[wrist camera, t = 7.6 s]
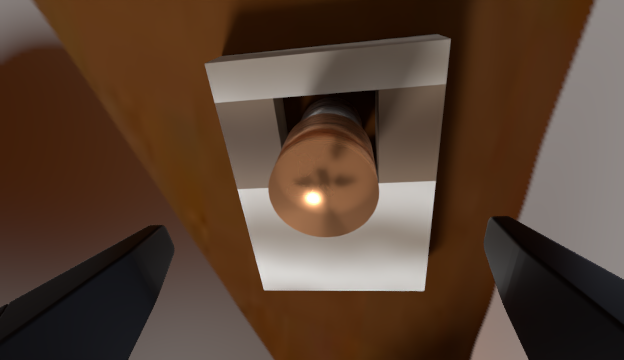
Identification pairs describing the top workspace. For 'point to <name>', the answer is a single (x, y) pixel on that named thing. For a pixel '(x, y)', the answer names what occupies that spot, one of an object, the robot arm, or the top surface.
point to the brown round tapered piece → (325, 172)
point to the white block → (389, 165)
